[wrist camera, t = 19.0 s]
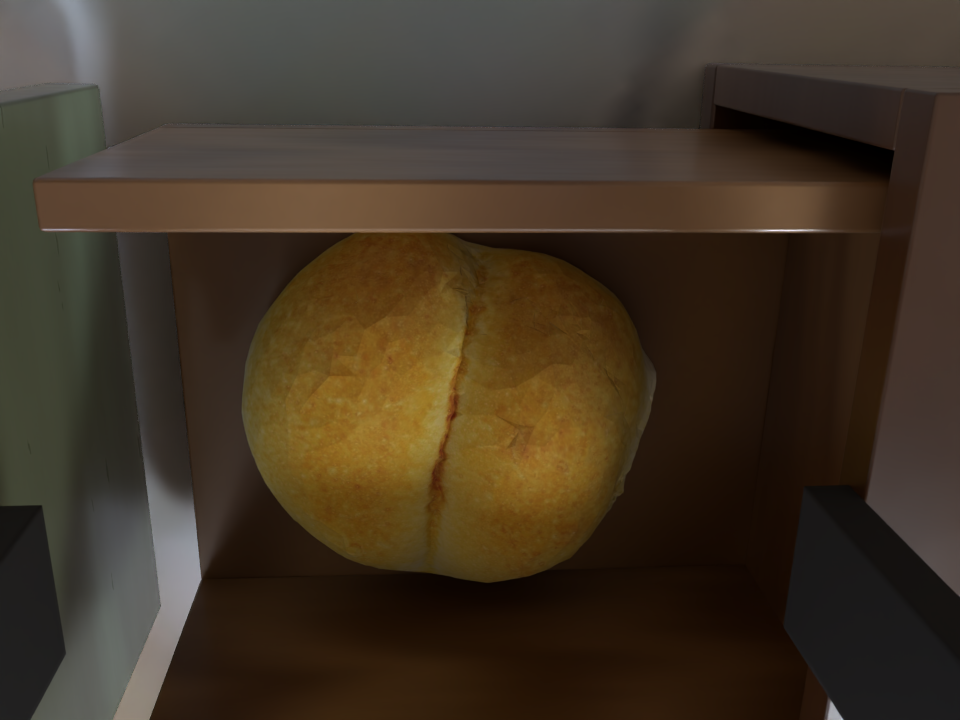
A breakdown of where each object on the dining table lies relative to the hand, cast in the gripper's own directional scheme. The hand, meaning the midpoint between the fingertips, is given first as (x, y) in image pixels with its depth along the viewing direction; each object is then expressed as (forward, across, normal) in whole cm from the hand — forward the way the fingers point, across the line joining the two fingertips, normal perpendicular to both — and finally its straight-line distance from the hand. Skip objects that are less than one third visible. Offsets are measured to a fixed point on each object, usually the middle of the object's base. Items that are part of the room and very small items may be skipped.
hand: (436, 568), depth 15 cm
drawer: (+9, -3, 0) cm, 9 cm away
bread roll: (+8, +1, 0) cm, 8 cm away
